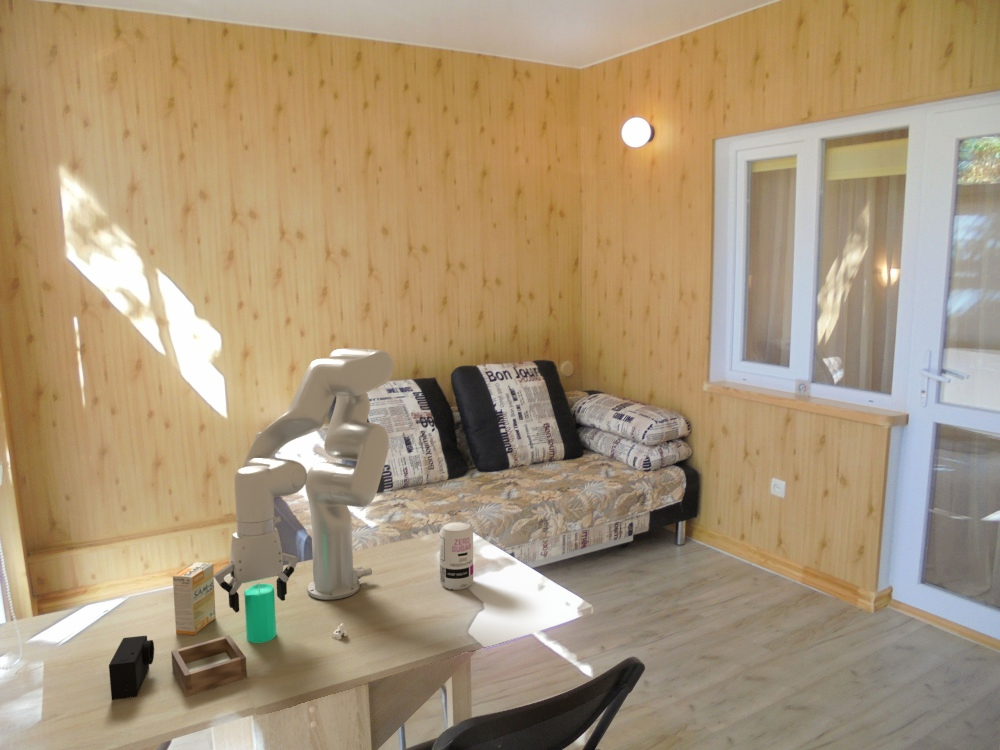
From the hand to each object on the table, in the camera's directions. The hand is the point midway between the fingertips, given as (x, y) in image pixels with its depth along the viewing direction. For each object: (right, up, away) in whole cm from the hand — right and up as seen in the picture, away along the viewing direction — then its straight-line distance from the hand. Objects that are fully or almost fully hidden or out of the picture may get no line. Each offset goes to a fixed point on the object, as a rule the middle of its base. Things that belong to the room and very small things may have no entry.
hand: (258, 604), depth 157 cm
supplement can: (+40, -4, +27) cm, 49 cm away
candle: (0, -7, +1) cm, 8 cm away
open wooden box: (-5, -9, -13) cm, 17 cm away
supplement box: (-16, -7, +6) cm, 18 cm away
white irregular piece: (+16, -8, +2) cm, 18 cm away
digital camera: (-18, -10, -17) cm, 26 cm away
